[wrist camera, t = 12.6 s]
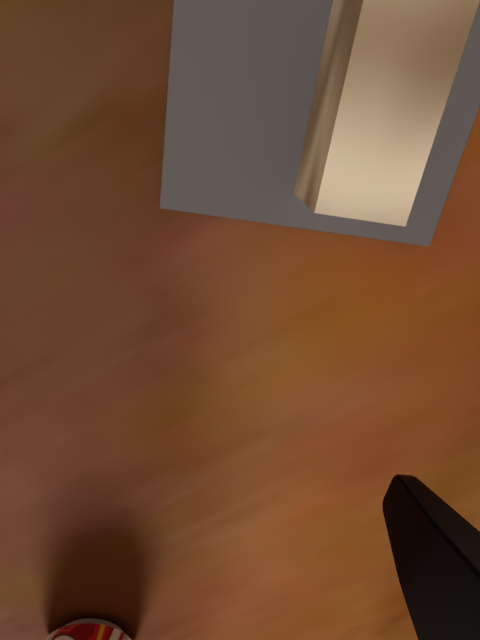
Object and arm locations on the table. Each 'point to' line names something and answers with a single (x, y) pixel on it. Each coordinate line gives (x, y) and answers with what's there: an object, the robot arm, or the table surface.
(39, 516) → the table surface
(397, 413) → the table surface
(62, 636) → the soda can
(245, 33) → the tool mat
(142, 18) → the table surface
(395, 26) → the cream saddle block
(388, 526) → the robot arm
